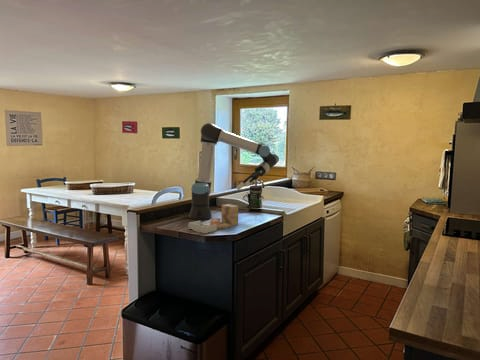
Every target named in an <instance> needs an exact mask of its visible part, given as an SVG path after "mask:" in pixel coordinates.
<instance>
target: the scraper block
mask: <svg viewBox="0 0 480 360" xmlns="http://www.w3.org/2000/svg"><path fill="white" fill-rule="evenodd" d="M220 207H221V212H220V213H221V215H220V216H221V217H220V222H223V223H227V224H230V227H234V226H238V225H239V205H235V204H230V203H226V204H221V206H220Z"/></svg>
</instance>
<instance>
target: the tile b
mask: <svg viewBox="0 0 480 360" xmlns="http://www.w3.org/2000/svg"><path fill="white" fill-rule="evenodd" d="M209 220H210V221H209V222H210V225H215V224H217V226H219V225H220V222H221V219H220V220H216V219H215V220H211V219H209Z"/></svg>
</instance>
